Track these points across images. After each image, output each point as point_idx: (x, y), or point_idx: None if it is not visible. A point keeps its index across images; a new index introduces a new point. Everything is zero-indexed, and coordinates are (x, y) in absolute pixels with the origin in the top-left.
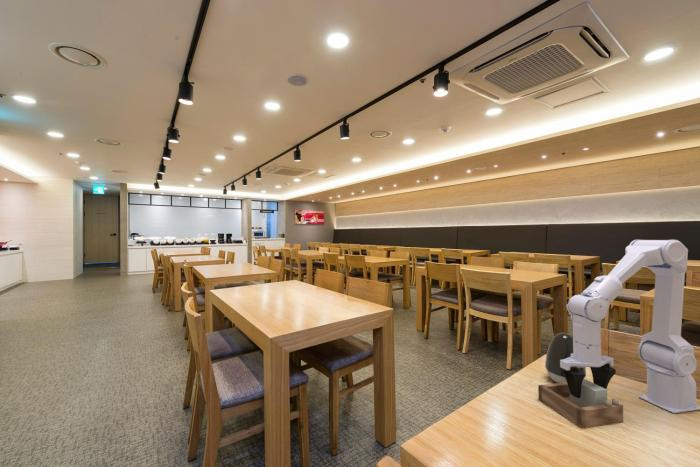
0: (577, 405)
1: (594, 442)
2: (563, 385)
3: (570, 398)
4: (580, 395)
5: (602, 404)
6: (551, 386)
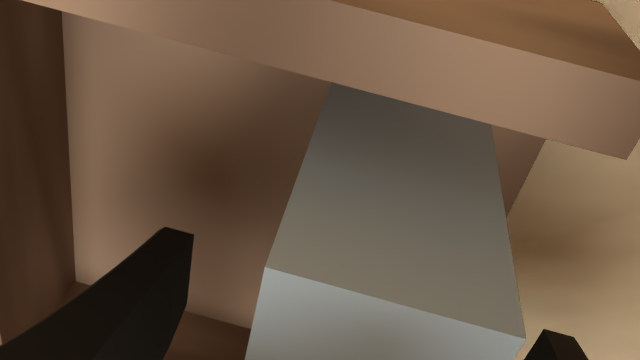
0: (294, 169)
1: None
2: (298, 70)
3: (328, 97)
4: (172, 335)
5: None
6: (55, 8)
